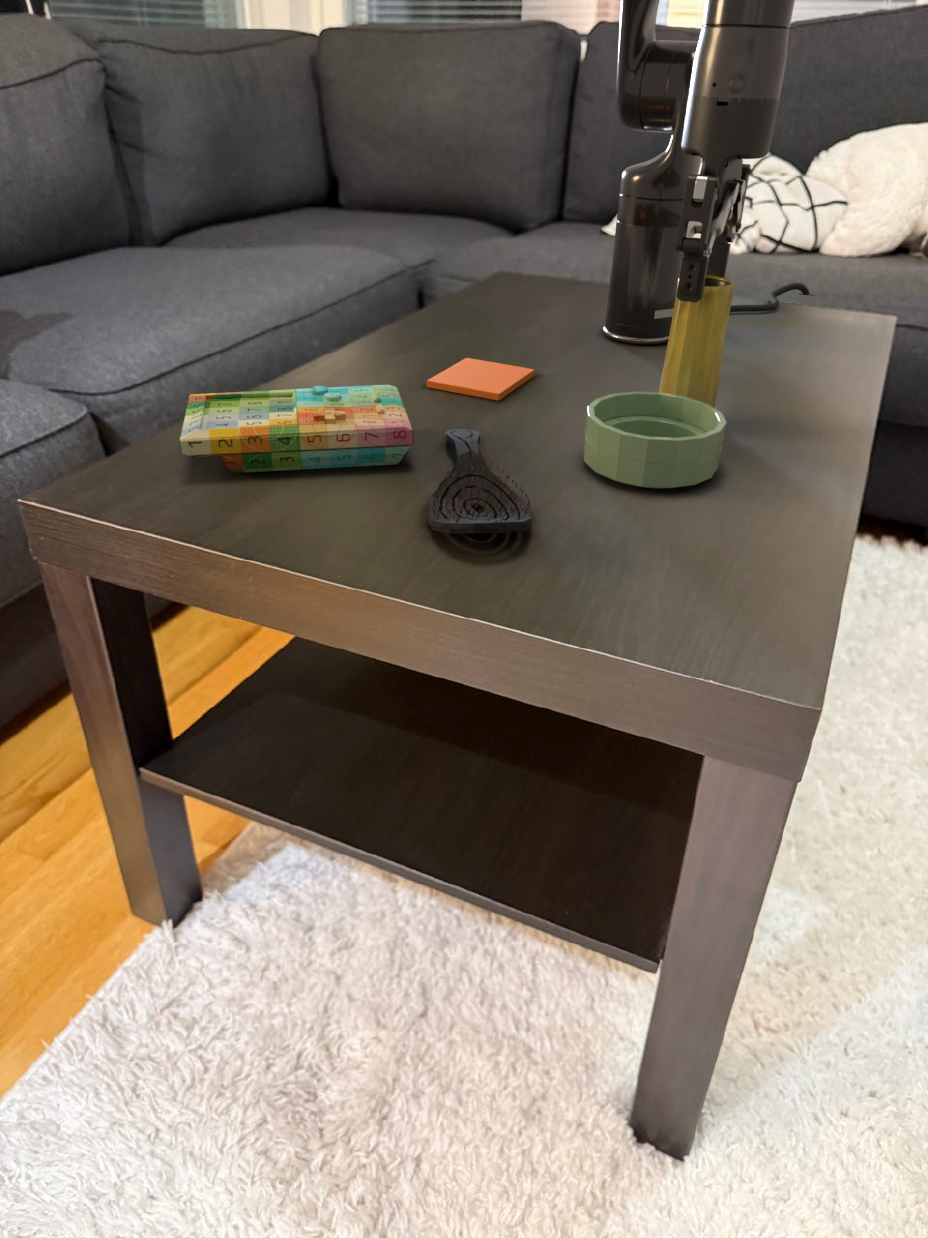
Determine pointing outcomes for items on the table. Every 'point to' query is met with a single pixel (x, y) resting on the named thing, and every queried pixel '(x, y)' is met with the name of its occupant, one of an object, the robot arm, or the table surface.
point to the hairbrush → (475, 494)
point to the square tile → (481, 378)
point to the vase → (698, 343)
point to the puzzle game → (298, 428)
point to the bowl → (653, 439)
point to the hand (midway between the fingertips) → (700, 291)
